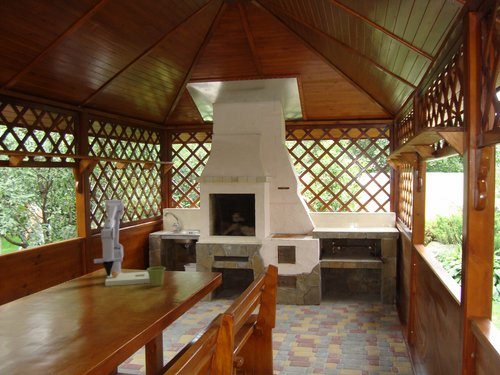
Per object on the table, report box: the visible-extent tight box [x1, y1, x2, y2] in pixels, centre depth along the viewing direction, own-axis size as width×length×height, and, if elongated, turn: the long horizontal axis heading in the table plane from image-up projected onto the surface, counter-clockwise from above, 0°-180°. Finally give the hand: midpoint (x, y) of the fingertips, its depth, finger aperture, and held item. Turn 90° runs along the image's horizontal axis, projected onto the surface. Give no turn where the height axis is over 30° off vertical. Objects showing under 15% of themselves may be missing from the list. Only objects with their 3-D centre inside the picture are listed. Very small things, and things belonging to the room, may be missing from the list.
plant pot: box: [146, 266, 166, 287], centre depth 216 cm, size 9×9×9 cm
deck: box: [104, 271, 150, 287], centre depth 226 cm, size 18×24×4 cm
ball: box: [112, 271, 118, 277], centre depth 225 cm, size 3×3×3 cm
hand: (108, 275), depth 224 cm, fingers closed
